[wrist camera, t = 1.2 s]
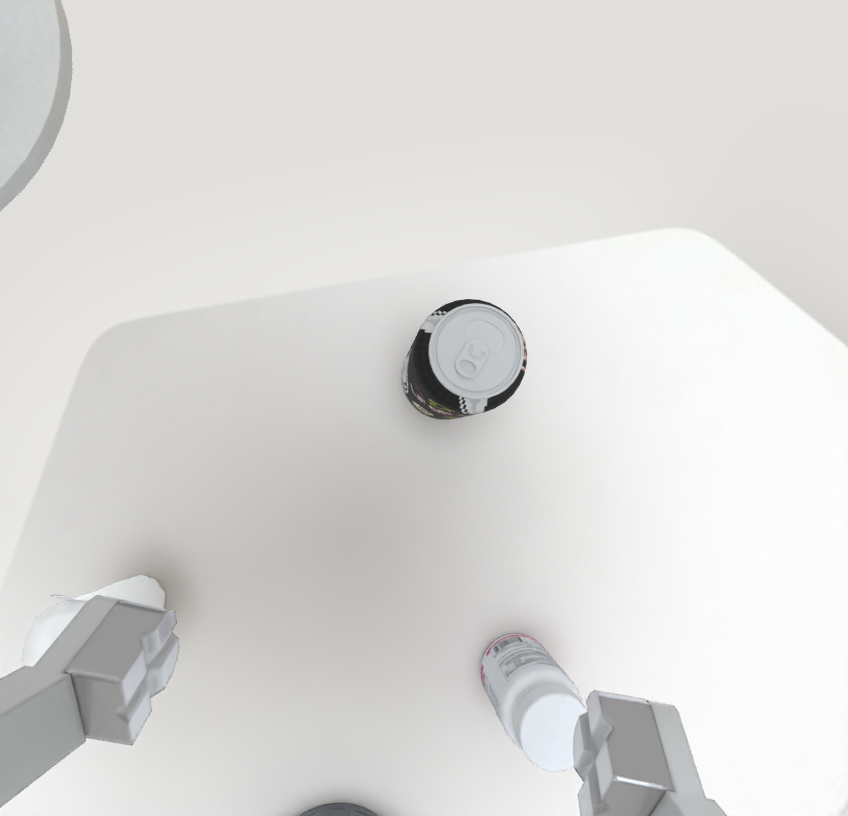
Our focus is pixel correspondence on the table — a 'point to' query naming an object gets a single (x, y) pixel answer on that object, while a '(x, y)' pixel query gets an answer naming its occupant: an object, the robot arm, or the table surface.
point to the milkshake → (63, 613)
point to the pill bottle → (533, 700)
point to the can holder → (339, 810)
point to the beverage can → (464, 360)
